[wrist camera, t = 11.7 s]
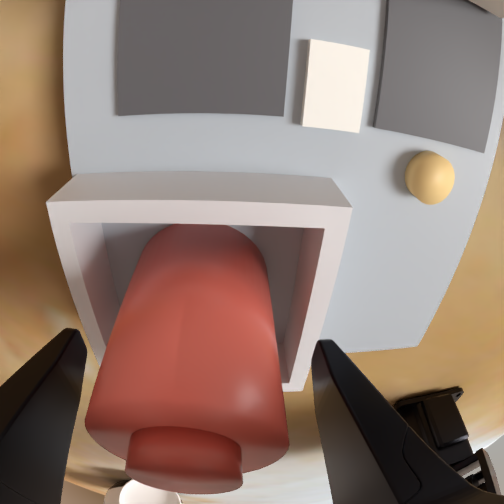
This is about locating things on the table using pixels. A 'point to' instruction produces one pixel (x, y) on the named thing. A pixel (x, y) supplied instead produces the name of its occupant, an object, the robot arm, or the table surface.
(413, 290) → the panel
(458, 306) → the table surface
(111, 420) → the pink cylinder with nub
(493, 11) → the block
